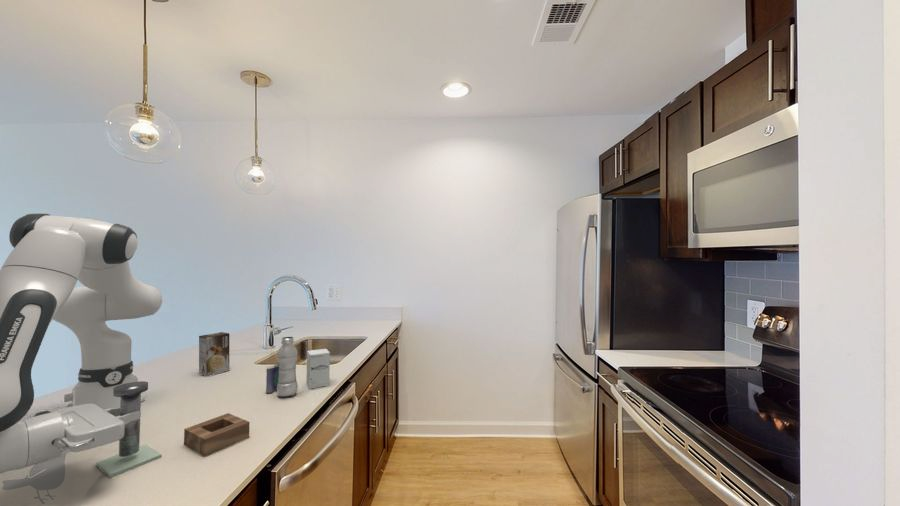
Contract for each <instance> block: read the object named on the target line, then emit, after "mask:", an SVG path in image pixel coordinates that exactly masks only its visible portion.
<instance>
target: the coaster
mask: <svg viewBox="0 0 900 506" xmlns="http://www.w3.org/2000/svg"><path fill="white" fill-rule="evenodd" d="M160 458H162V453H160V452H159V451H157V450H155V448H153V447H151V446H149V445H148V444H147V443H146V444H143V445H141V446H140V445H139V451H138V452H137V453H135V454H133V455H130V456H125V457H120V456H119V453H118V454H115V455H113V456H110V457H108V458H105V459H102V460H99V461H96V462H95V466H96V465H97V466H98V467H99V469H100V471H102V473H104V474H105V473H106V474H105V475H107V476H108V477H109V478H112V476H113V477H115V476H118V475H120V474H122V473H125V472H127V471H130V470H133V469H135V468H138V467H140V466H143V465H145V464H147V463H151V462H152V461H155V460H158V459H160ZM97 466H96V467H97ZM98 467H97V468H98Z"/></svg>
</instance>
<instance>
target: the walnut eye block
mask: <svg viewBox="0 0 900 506" xmlns="http://www.w3.org/2000/svg"><path fill="white" fill-rule="evenodd" d="M250 423H251V422H250V421H248V420H246V419H243V418H242V417H239V416H236V415H234V414H231V413H230V412H227V413H225V414H222V415H219V416H217V417H213V418H211V419H208V420H205V421H202V422H200V423H198V424H194V425H192V426H189V427H186V428H184V431H183V432H184V433H183V434H184V435H183V438H184V439H183V445H184V446H185V447H187V448H189V449H190V450H192V451H194V452H196V453H197V454H199V455H201V456H203V457H208V456H209V455H212V454H214V453H216V452H219V451H221V450H223V449H225V448H227V447H230V446H233V445H234V444H237V443H239V442H241V441H243V440H246V439H249V438H250Z"/></svg>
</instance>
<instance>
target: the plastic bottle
mask: <svg viewBox="0 0 900 506" xmlns="http://www.w3.org/2000/svg"><path fill="white" fill-rule="evenodd" d="M294 341H295V340H294V336H283V337H281V346H280V347H279V349H278V350H277V353H276V359H277V361H278V366H279V377H278V384H277V391H276V394H277V395H278V396H279V397H281V398H286V397H291V396H294V395H295V394H296V393H297V391H298V387H299V386H298V381H297V371H296V369H297V368H296V367H297V360H298V349H297V348H296V346H295V345H294Z"/></svg>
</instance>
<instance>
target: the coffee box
mask: <svg viewBox="0 0 900 506" xmlns="http://www.w3.org/2000/svg"><path fill="white" fill-rule="evenodd" d="M225 371H226V372H229V371H230V333H229V332H223V331H221V332H215V333H209V334H202V335H198V375H199V374H201V375H200V376H202V375H204V376H203V377H205V376H208V377H210V375H211V376H214V375H213V374H215V375H218V373H219V374H222V373H226V372H225ZM221 372H222V373H221Z"/></svg>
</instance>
